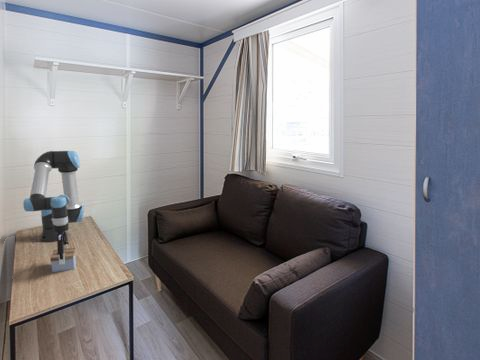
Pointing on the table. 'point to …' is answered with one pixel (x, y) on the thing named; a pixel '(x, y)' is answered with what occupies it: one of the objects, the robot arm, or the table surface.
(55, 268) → the slide box
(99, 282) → the table surface
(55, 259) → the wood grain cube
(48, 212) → the robot arm
